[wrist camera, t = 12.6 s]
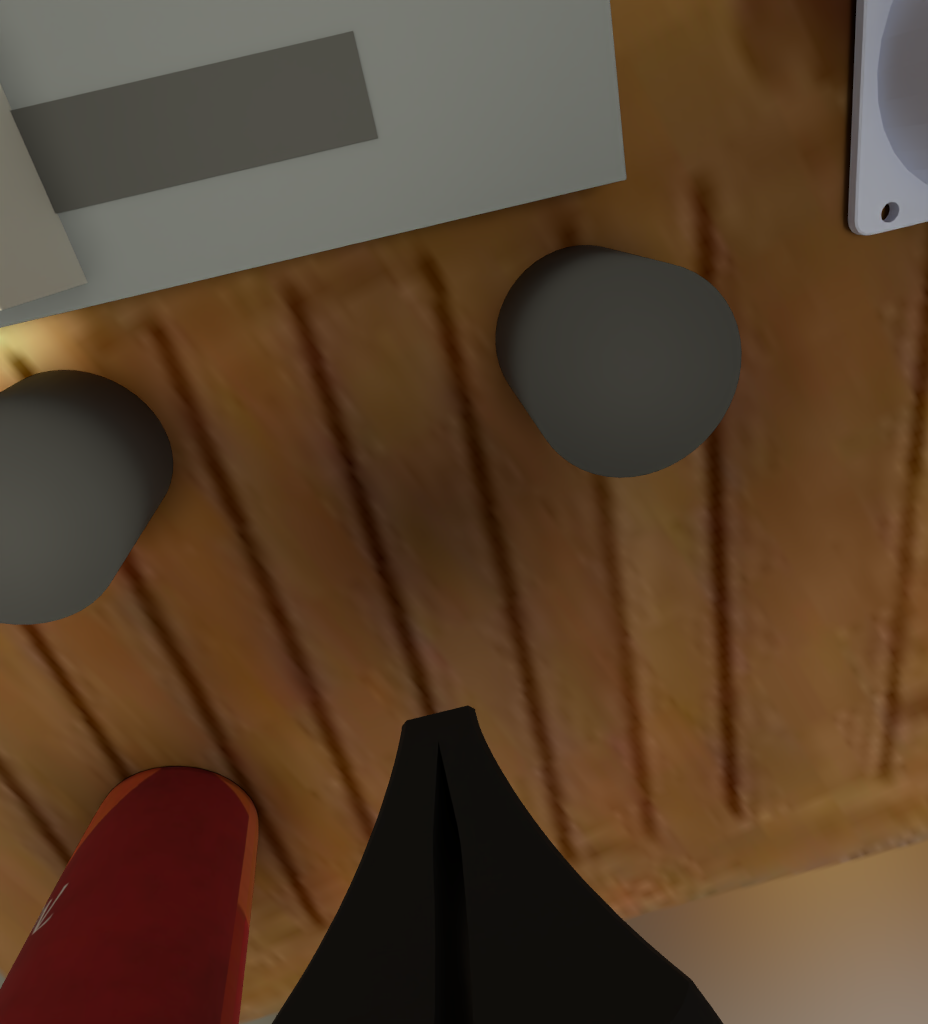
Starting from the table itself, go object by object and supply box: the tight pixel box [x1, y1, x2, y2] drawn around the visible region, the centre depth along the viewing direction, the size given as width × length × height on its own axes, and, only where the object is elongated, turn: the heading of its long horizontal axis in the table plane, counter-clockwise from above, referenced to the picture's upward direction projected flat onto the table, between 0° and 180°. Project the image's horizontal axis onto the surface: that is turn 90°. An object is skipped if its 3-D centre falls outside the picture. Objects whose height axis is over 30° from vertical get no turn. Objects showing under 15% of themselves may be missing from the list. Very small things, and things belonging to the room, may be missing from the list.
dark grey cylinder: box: [496, 245, 741, 477], centre depth 18 cm, size 5×5×5 cm
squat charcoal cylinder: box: [0, 370, 173, 624], centre depth 18 cm, size 5×5×5 cm
